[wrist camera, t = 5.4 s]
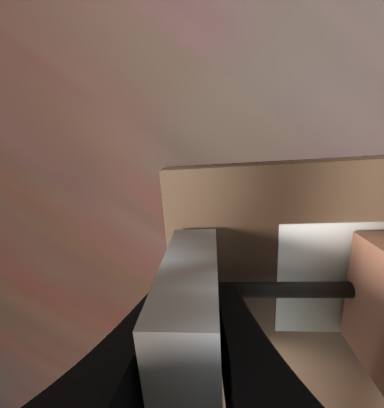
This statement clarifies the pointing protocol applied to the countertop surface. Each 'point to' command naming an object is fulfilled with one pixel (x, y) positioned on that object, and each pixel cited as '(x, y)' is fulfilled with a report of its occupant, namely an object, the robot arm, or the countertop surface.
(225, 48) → the countertop surface
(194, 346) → the tethered block
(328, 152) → the countertop surface
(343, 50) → the countertop surface
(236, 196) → the lane rack
